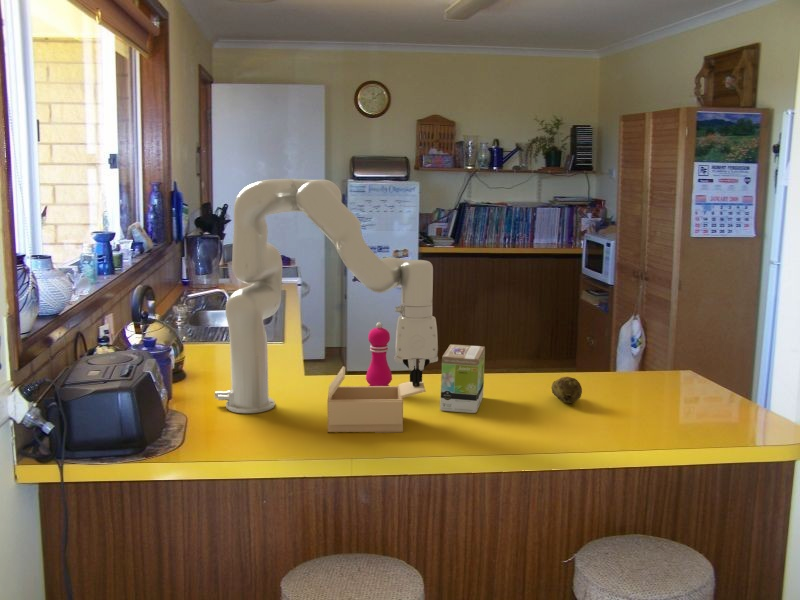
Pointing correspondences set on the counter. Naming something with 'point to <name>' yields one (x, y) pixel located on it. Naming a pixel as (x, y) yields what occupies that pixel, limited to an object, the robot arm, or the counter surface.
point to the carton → (365, 409)
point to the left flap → (336, 382)
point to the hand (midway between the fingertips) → (415, 384)
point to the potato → (567, 389)
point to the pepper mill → (379, 357)
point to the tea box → (462, 378)
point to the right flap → (411, 389)
